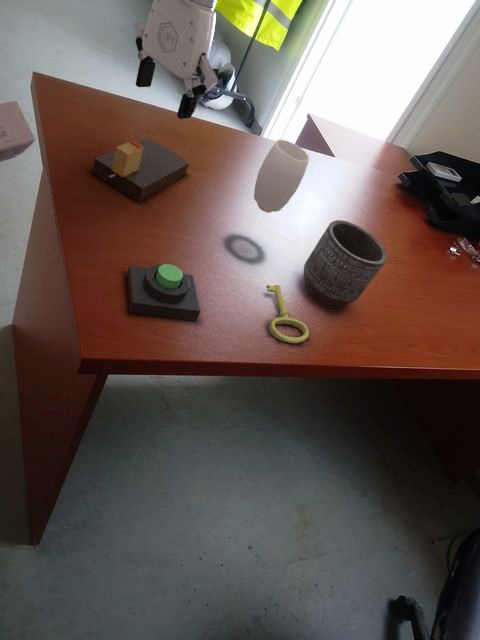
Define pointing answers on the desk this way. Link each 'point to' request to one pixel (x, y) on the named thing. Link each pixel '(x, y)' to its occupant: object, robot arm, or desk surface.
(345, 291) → the planter
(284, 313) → the key
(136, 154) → the block
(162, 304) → the button box
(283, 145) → the cup
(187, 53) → the robot arm
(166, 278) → the button
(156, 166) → the plate
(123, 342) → the desk surface
